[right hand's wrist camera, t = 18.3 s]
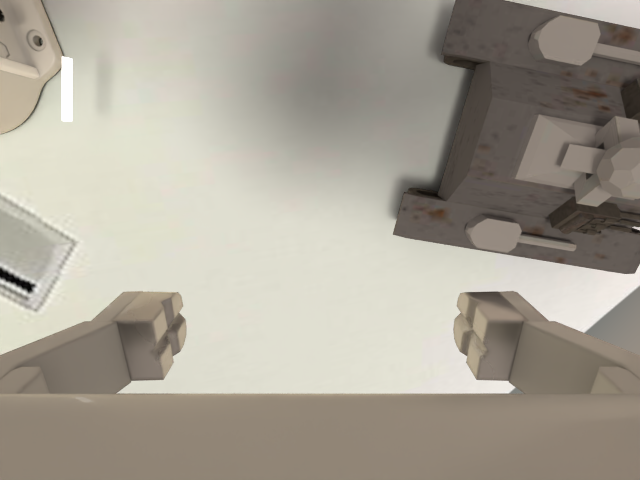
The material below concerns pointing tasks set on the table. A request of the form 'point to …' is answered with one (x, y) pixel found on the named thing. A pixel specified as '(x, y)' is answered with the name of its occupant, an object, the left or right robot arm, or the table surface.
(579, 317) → the table surface
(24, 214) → the table surface
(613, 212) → the toy
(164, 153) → the table surface
